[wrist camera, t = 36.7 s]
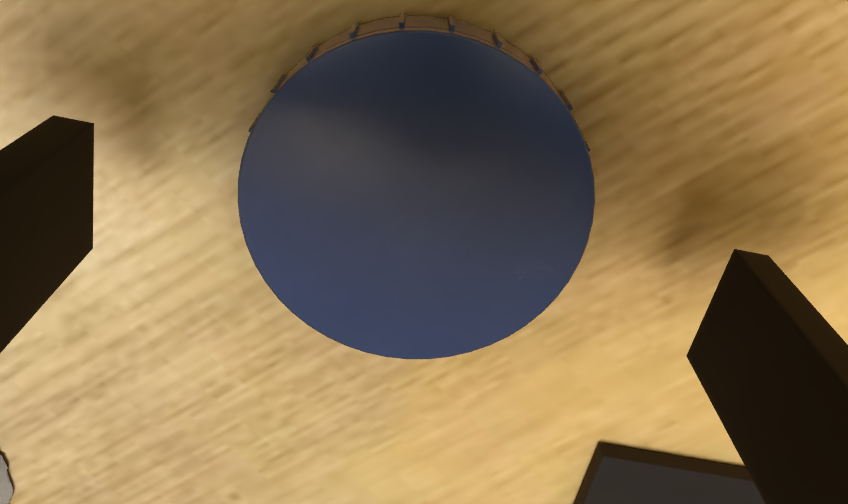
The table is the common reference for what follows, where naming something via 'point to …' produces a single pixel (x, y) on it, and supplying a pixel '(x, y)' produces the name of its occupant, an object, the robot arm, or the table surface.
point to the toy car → (4, 483)
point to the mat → (663, 480)
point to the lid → (416, 188)
